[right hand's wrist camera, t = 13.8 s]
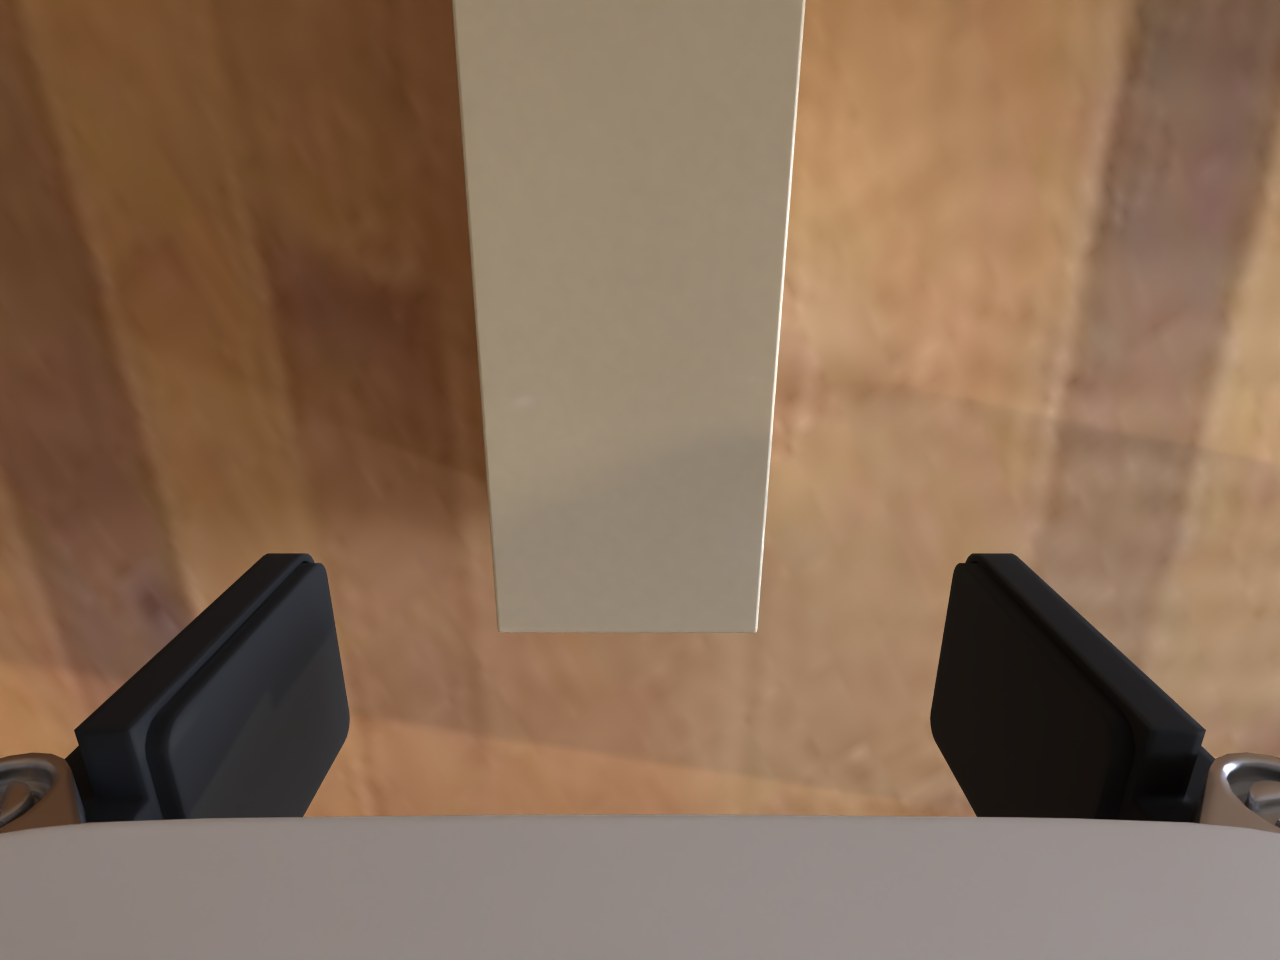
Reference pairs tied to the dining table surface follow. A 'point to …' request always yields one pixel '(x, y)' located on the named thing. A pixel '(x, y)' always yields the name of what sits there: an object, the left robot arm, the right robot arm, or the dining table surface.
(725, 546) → the cabinet
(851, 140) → the dining table surface
